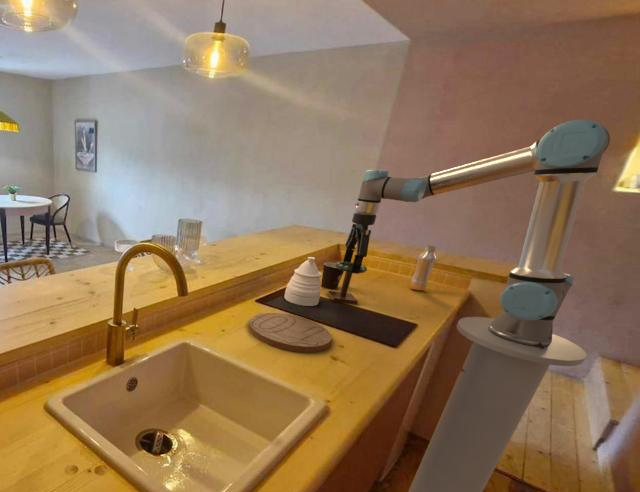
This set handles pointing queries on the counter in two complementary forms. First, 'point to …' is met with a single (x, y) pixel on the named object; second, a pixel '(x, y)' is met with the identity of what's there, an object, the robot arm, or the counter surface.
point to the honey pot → (304, 285)
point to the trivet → (289, 332)
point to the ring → (344, 267)
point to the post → (344, 290)
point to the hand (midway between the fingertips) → (350, 268)
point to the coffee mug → (331, 276)
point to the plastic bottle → (423, 269)
